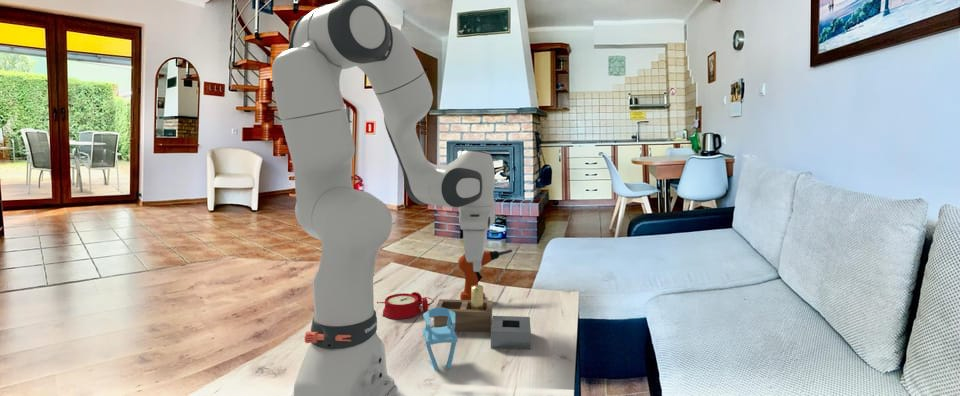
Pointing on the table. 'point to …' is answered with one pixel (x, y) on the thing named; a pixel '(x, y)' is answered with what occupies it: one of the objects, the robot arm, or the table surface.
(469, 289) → the toy drill
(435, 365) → the chair
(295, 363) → the table surface
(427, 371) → the table surface
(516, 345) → the socket block
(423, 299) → the alarm clock
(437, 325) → the box
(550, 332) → the table surface
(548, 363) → the table surface
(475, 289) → the gold rounded rod
